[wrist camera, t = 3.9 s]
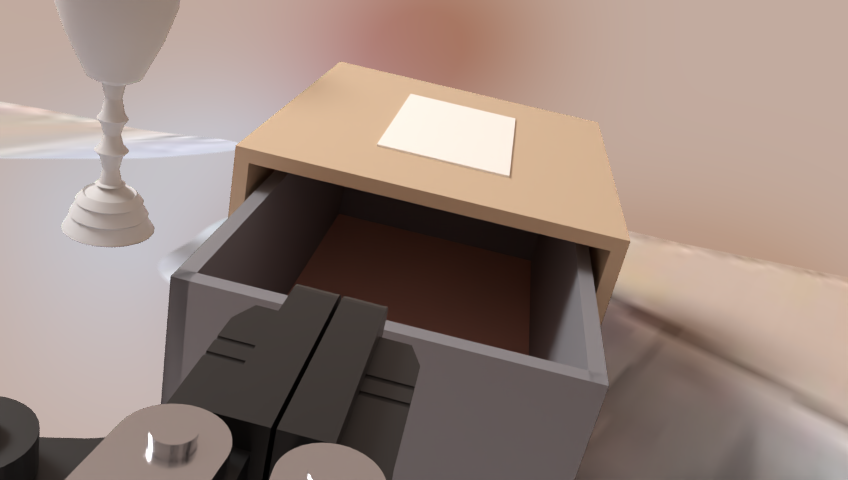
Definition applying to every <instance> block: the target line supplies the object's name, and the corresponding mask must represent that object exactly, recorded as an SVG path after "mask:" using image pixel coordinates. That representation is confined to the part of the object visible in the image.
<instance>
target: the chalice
mask: <svg viewBox="0 0 848 480" xmlns="http://www.w3.org/2000/svg"><path fill="white" fill-rule="evenodd" d="M54 2H55V5H56V8H57V11H58V14H59V17H60V20H61V22H62V26H63V28H64V31H65V33H66V35H67V37H68V39H69V41H70V43H71V45H72V47H73V49H74V51H75V53H76V55H77V57H78V59H79V61H80V63H81V65H82V67H83V69H84V71H85V73H86V75H87V76H89V77H90V78H92V79H94V80H96V81H98V82H101V83H102V84H103V90H104V96H105V98H104V102H103V106H102V110H101V112H100V113H99V114H98V115H97V119H98V120H99V121H100V123H101V126H102V130H103V133H104V134H103V137H102V140H101V142H100V144H98V145H97V146H96V147H95V148H94V150H95V151H96V152H97V153H98V154H99V155H100V159H101V164H102V172H101V175H100V179H98V180H96V181H95V183H92V184H89V185H87V186H85V187H84V188H83V189H82V190H81V191H80V192H79V193H78V194H77V195H76V196H75V201H74V203H73V204H72V205H71V206H70V209H69V211H68V212H69V214H68V215H67V217H66V218H65V219H64V220H63V223H62V225H61V228H62V231H63V233H64V234H65V235H67V236H68V237H69V238H70V239H73V240H75V241H77V242H80V243H83V244H88V245H92V246H100V247H122V246H129V245H133V244H138V243H140V242H143V241H145V240H147V239H148V238H149V237H150V236H151V235H152V234H153V233H154V226H153V224H152V223H151V221H150V220H149V218H148V211H147V210H146V208H145V206H144V205H143V202H144V200H143V199H142V197H141V196H140V195H139V194H138V192H137V191H136V190H135V189H133V188H132V187H130V186H128V185H125V182H124V181H123V180H121V175H120V170H119V168H120V165H121V161H122V158H123V156H125V155H126V154H127V153H128V152H129V150H128V149H127V148H126V147H125V146H124V145H123V141H122V137H121V132H122V129H123V127H124V125H125V124H126V122H127V121H128V117H127V116H126V114H125V111H124V105H123V100H122V98H123V93H124V90H125V86H126V85H128V84H133V83H136V82H139V81H141V80H142V79H143V77H144V75H145V74H146V72H147V70H148V69H149V67H150V65H151V64H152V62H153V61H154V59H155V57H156V56H157V54H158V52H159V51H160V49H161V47H162V45H163V44H164V42H165V40H166V38H167V35H168V33H169V30H170V28H171V26H172V24H173V21H174V19H175V17H176V14H177V12H178V9H179V3H180V0H54Z"/></svg>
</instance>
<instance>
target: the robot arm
mask: <svg viewBox="0 0 848 480" xmlns="http://www.w3.org/2000/svg"><path fill="white" fill-rule="evenodd" d="M387 312H388V307H386V306H382V305H378V304H374V303H371V302H367V301H363V300H359V299H355V298H351V297H347V296H344V297H343V298H342V300H341V295H339V294H335V293H331V292H327V291H323V290H319V289H316V288H312V287H308V286H304V285H300V284H296V285H295V286H294V287H293V289H292V291H291V292H290V294H289V295H288V297H287V298H286V300H285V301H284V303H283V304H282V306H281V308H280V309H279V311H277V310H274V309H270V308H266V307H262V306H258V305H255V306H253V307H251V308H249V309H247V310H245V311H243V312H241V313H239V314H237V315H235V316H233V317H231V318H230V320H229V321H228V322H227V324H226V325H225V326H224V328H223V329H222V330H221V332H220V333H219V334H218V336H217V339H215V340H214V341H213V342H212V344H211V345H210V346H209V348H208V349H207V350H206V354H205V355H204V354H203V356H202V357H201V358H200V360H199V361H198V362H197V363H196V365H195V366H194V367H193V369H192V370H191V371H190V373H189V374H188V375H187V377H186V378H185V379H184V381H183V382H182V383H181V385H180V386H179V387H178V389H177V390H176V391H175V393H174V394H173V395H172V397H171V398H170V399H169V401H168V402H167V403H166V404H160V405H155V406H150V407H147V408H143V409H141V410H139V411H136V412H134V413H132V414H131V415H129V416H127V417H126V418H125V419H124V420H122V421H121V422H120V423H119V424H118V425H117V426H116V427H115V428H114V429H113V430H112V431H111V432H110V433H109V434H108V435H107V436H106V437H105V438H90V439H82V438H44V437H39V429H40V428H39V421H38V419H37V417H36V415H35V413H34V412H33V411H32V410H31V409H30V408H29V407H27V406H26V405H24V404H22V403H20V402H18V401H16V400H13V399H10V398H6V397H0V480H392V478H393V472H394V468H395V464H396V460H397V456H398V452H399V448H400V444H401V440H402V436H403V432H404V429H405V425H406V421H407V417H408V413H409V409H410V405H411V401H412V397H413V393H414V389H415V385H416V381H417V377H418V373H419V369H420V364H419V362H418V359H417V357H416V354H415V352H414V349H413V347H412V345H409V344H406V343H402V342H398V341H394V340H390V339H386V338H382V336H383V331H384V327H385V322H386V318H387Z"/></svg>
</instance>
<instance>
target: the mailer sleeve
mask: <svg viewBox="0 0 848 480" xmlns="http://www.w3.org/2000/svg"><path fill="white" fill-rule="evenodd" d="M275 170H279V171H283V172H288V173H292V174H296V175H300V176H304V177H308V178H312V179H316V180H320V181H325V182H329V183H333V184H337V185H341V186H345V187H349V188H353V189H357V190H362V191H366V192H370V193H374V194H378V195H382V196H386V197H390V198H394V199H399V200H403V201H407V202H411V203H415V204H419V205H423V206H427V207H431V208H436V209H440V210H444V211H448V212H452V213H456V214H460V215H464V216H468V217H472V218H477V219H481V220H485V221H489V222H493V223H497V224H501V225H505V226H509V227H514V228H518V229H522V230H526V231H530V232H534V233H538V234H542V235H546V236H551V237H555V238H559V239H563V240H567V241H571V242H575V243H579V244H583V245H588V246H589V252H590V259H591V266H592V273H593V280H594V286H595V293H596V300H597V307H598V314H599V321H600V326H601V324H602V321H603V318H604V315H605V312H606V309H607V306H608V304H609V301H610V298H611V295H612V292H613V289H614V286H615V284H616V281H617V278H618V275H619V272H620V269H621V266H622V264H623V261H624V258H625V255H626V252H627V249H628V246H629V244H630V238H629V234H628V231H627V227H626V223H625V220H624V216H623V213H622V209H621V205H620V201H619V198H618V194H617V190H616V187H615V183H614V179H613V175H612V172H611V168H610V164H609V161H608V157H607V153H606V150H605V146H604V142H603V139H602V135H601V131H600V128H599V124H598V123H597V122H593V121H589V120H584V119H581V118H577V117H572V116H568V115H564V114H560V113H555V112H551V111H547V110H543V109H538V108H534V107H530V106H526V105H521V104H517V103H513V102H509V101H505V100H500V99H496V98H492V97H488V96H483V95H479V94H475V93H471V92H467V91H463V90H458V89H454V88H449V87H445V86H441V85H437V84H433V83H429V82H424V81H420V80H416V79H412V78H408V77H403V76H399V75H395V74H391V73H386V72H382V71H378V70H374V69H369V68H365V67H361V66H357V65H352V64H348V63H344V62H339V63H338V64H337V65H336V66H335V67H333V68H332V69H331V70H329V71H328V72H327V73H326V74H324V75H323V76H322V77H321V78H319V79H318V80H317V81H316V82H314V83H313V84H312V85H311V86H309V87H308V88H307V89H306V90H305V91H303V92H302V93H301V94H299V95H298V96H297V97H296V98H294V100H292V101H291V102H289V103H288V104H287V105H286V106H284V107H283V108H282V109H281V110H280V111H278V112H277V113H276V114H275V115H273V116H272V117H271V118H270V119H268V120H267V121H266V122H265V123H263V124H262V125H261V126H260V127H258V128H257V129H256V130H255V131H254V132H252V133H251V134H250V135H248V136H247V137H246V138H245V139H244V140H242V141H241V142H240V143H238V144H237V145H236V149H235V158H234V168H233V177H232V186H231V195H230V196H231V197H230V206H229V214H228V218H229V217H230V216H231V215H232V214H233V213H234V212H235V211H236V210H237V209H238V208H239V207H240V206H241V204H242V203H243V202H244V201H245V200H246V199H247V198H248V197H249V196H250V195H251V194H252V193H253V192H254V191H255V190H256V189H257V188H258V187H259V186H260V185H261V184H262V183H263V182H264V181H265V180H266V179H267V178H268V177H269V176H270V175H271V174H272V173H273V172H274V171H275Z"/></svg>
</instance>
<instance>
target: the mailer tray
mask: <svg viewBox="0 0 848 480" xmlns="http://www.w3.org/2000/svg"><path fill="white" fill-rule="evenodd" d="M296 284H300V285H304V286H308V287H312V288H316V289H319V290H323V291H327V292H331V293H335V294H339V295H341V300H342V298H343V297H344V296H347V297H351V298H355V299H359V300H363V301H367V302H371V303H374V304H378V305H382V306H386V307H388V312H387V318H386V322H385V327H384V331H383V336H382V338H386V339H390V340H394V341H398V342H402V343H406V344H409V345H412V347H413V349H414V352H415V354H416V357H417V359H418V362H419V364H420V369H419V373H418V377H417V381H416V385H415V389H414V393H413V397H412V401H411V405H410V409H409V413H408V417H407V421H406V425H405V429H404V432H403V436H402V440H401V444H400V448H399V452H398V456H397V460H396V464H395V468H394V472H393V478H392V480H575V477H576V474H577V472H578V469H579V466H580V463H581V461H582V458H583V455H584V453H585V450H586V447H587V444H588V442H589V439H590V436H591V434H592V431H593V428H594V425H595V423H596V420H597V417H598V415H599V412H600V409H601V406H602V404H603V401H604V398H605V396H606V393H607V390H608V388H609V382H608V376H607V369H606V362H605V355H604V348H603V341H602V334H601V328H600V321H599V314H598V307H597V300H596V293H595V286H594V280H593V273H592V266H591V259H590V252H589V246H588V245H583V244H579V243H575V242H571V241H567V240H563V239H559V238H555V237H551V236H546V235H542V234H538V233H534V232H530V231H526V230H522V229H518V228H514V227H509V226H505V225H501V224H497V223H493V222H489V221H485V220H481V219H477V218H472V217H468V216H464V215H460V214H456V213H452V212H448V211H444V210H440V209H436V208H431V207H427V206H423V205H419V204H415V203H411V202H407V201H403V200H399V199H394V198H390V197H386V196H382V195H378V194H374V193H370V192H366V191H362V190H357V189H353V188H349V187H345V186H341V185H337V184H333V183H329V182H325V181H320V180H316V179H312V178H308V177H304V176H300V175H296V174H292V173H288V172H283V171H279V170H275V171H274V172H273V173H272V174H271V175H270V176H269V177H268V178H267V179H266V180H265V181H264V182H263V183H262V184H261V185H260V186H259V187H258V188H257V189H256V190H255V191H254V192H253V193H252V194H251V195H250V196H249V197H248V198H247V199H246V200H245V201H244V202H243V203H242V204H241V206H240V207H239V208H238V209H237V210H236V211H235V212H234V213H233V214H232V215H231V216H230V217H229V218H228V219H227V220H226V221H225V222H224V223H223V224H222V225H221V226H220V227H219V228H218V229H217V230H216V231H215V232H214V233H213V234H212V235H211V236H210V237H209V238H208V239H207V240H206V241H205V242H204V243H203V244H202V245H201V246H200V247H199V248H198V249H197V250H196V251H195V252H194V253H193V254H192V255H191V256H190V257H189V258H188V259H187V260H186V261H185V262H184V263H183V264H182V265H181V266H180V267H179V269H178V270H177V271H176V272H175V273H174V274H173V275H172V276H171V280H170V293H169V307H168V319H167V334H166V345H165V359H164V372H163V385H162V399H161V404H166V403H167V402H168V401H169V399H170V398H171V397H172V395H173V394H174V393H175V391H176V390H177V389H178V387H179V386H180V385H181V383H182V382H183V381H184V379H185V378H186V377H187V375H188V374H189V373H190V371H191V370H192V369H193V367H194V366H195V365H196V363H197V362H198V361H199V360H200V358H201V357H202V356H203V354H204V355H205V354H206V350H207V349H208V348H209V346H210V345H211V344H212V342H213V341H214V340H215V339H217V336H218V334H219V333H220V332H221V330H222V329H223V328H224V326H225V325H226V324H227V322H228V321H229V320H230V318H231V317H233V316H235V315H237V314H239V313H241V312H243V311H245V310H247V309H249V308H251V307H253V306H255V305H258V306H262V307H266V308H270V309H274V310H277V311H279V309H280V308H281V306H282V304H283V303H284V301H285V300H286V298H287V297H288V295H289V294H290V292H291V291H292V289H293V287H294V286H295V285H296Z"/></svg>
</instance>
